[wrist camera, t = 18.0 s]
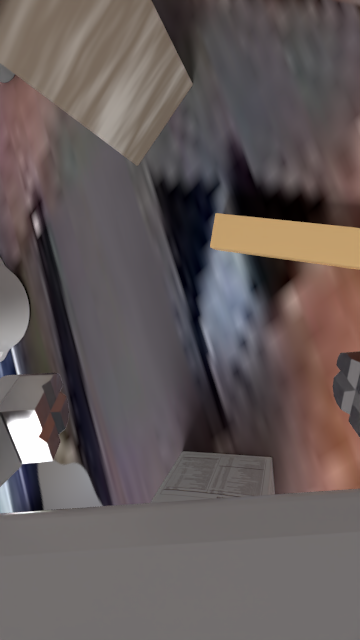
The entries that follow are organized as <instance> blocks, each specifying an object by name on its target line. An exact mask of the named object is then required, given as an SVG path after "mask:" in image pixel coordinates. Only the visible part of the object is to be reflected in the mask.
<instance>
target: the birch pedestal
mask: <svg viewBox="0 0 360 640" xmlns="http://www.w3.org/2000/svg"><path fill="white" fill-rule="evenodd" d="M0 63H1V64H2V65H4V66H5V67H6V68H8V69H9V70H10V71H12V72H13V73H14V74H16V75H17V76H18V77H20V78H21V79H22V80H24V81H25V82H26V83H27V84H29V85H30V86H31V87H33V88H34V89H35V90H37V91H38V92H39V93H41V94H42V95H43V96H45V97H46V98H47V99H49V100H50V101H51V102H53V103H54V104H55V105H57V106H58V107H59V108H61V109H62V110H63V111H65V112H66V113H67V114H69V115H70V116H71V117H73V118H74V119H75V120H77V121H78V122H79V123H81V124H82V125H83V126H85V127H86V128H87V129H89V130H90V131H91V132H93V133H94V134H95V135H97V136H98V137H99V138H101V139H102V140H103V141H105V142H106V143H107V144H109V145H110V146H111V147H113V148H114V149H115V150H117V151H118V152H119V153H121V154H122V155H123V156H125V157H126V158H127V159H129V160H130V161H131V162H133V163H134V164H135V165H137V166H138V165H139V163H140V162H141V160H142V159H143V157H144V156H145V154H146V153H147V152H148V150H149V149H150V147H151V146H152V144H153V143H154V141H155V140H156V138H157V137H158V135H159V134H160V132H161V131H162V129H163V128H164V126H165V125H166V124H167V122H168V121H169V119H170V118H171V116H172V115H173V113H174V112H175V110H176V109H177V107H178V106H179V104H180V103H181V101H182V100H183V98H184V97H185V95H186V94H187V93H188V91H189V90H190V88H191V87H192V85H193V84H192V82H191V80H190V78H189V76H188V74H187V72H186V70H185V68H184V65H183V63H182V61H181V59H180V57H179V55H178V53H177V51H176V49H175V47H174V45H173V43H172V41H171V39H170V37H169V35H168V33H167V31H166V29H165V27H164V25H163V23H162V21H161V19H160V17H159V15H158V13H157V11H156V9H155V7H154V5H153V3H152V1H151V0H0Z"/></svg>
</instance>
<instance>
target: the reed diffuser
mask: <svg viewBox="0 0 360 640" xmlns="http://www.w3.org/2000/svg"><path fill="white" fill-rule="evenodd" d="M14 75H15V74H14V73H13V72H12V71H10V70H9V69H8V68H6V67H5V66H4V65H2V64H1V63H0V82H2V83H6V82H9V81H10V80H11V79H12V78H13V77H14Z"/></svg>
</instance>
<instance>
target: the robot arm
mask: <svg viewBox="0 0 360 640" xmlns="http://www.w3.org/2000/svg"><path fill="white" fill-rule="evenodd" d="M28 322H29V302H28V297H27V294H26V291H25V289H24V287H23V285H22V283H21V282H20V280H19V279H18V278H17V277H16V276H15V275H14V274H13V273H12V272H11V271H10V270H9V269H8V268H7V267H6V266H5V265H4V263H3V261H2V259H1V258H0V362H1V361H3V360H4V359H5V357H6V355H7V353H8V351H9V349H10V348H12V347H13V346H14V345H16V344H17V343H18V342H19V341H20V340H21V338H22V337H23V336H24V334H25V332H26V329H27V326H28ZM337 366H338V368H339V369H340V372H339V373H338V374H337V375H336V376H335V377H334V382H333V392H334V397H335V400H336V403H337V404H338V406H339V407H340V409H341V410H343V411H344V412H346V413H348V414H350V417H349V422H350V424H351V425H352V427H353V428H354V430H355V431H356V433H357V434H358V436H359V437H360V351H358V352H346V353H340V355H339V357H338V360H337ZM62 386H63V383H62V380H61V377H60V375H59V374H58V373H42V374H23V375H8V376H4V377H2V378H1V379H0V487H1V486H2V485H3V484H4V483H5V482H6V481H7V480H8V479H9V478H10V477H11V476H12V475H13V474H14V473H15V472H16V471H17V470H18V469H19V468H20V467H21V464H26V463H36V462H46V461H53V460H54V457H55V454H56V452H57V449H58V447H59V444H60V438H59V434H60V433H61V432H62V431H63V430H64V429H65V428H66V425H67V423H68V417H69V404H68V400H67V396H65V395H64V394H63V393H62V392H60V390H61V388H62ZM0 640H360V489H347V490H332V491H318V492H303V493H288V494H274V495H259V496H245V497H230V498H216V499H202V500H187V501H173V502H159V503H144V504H130V505H115V506H101V507H87V508H72V509H59V510H43V511H29V512H14V513H0Z"/></svg>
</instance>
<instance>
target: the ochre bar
mask: <svg viewBox="0 0 360 640" xmlns="http://www.w3.org/2000/svg"><path fill="white" fill-rule="evenodd" d="M210 247H211V248H213V249H216V250H221V251H228V252H236V253H243V254H250V255H257V256H265V257H272V258H279V259H286V260H294V261H301V262H308V263H315V264H323V265H330V266H337V267H344V268H352V269H359V270H360V228H354V227H345V226H335V225H325V224H316V223H306V222H296V221H287V220H277V219H267V218H258V217H248V216H238V215H229V214H219V213H216V214H215V220H214V226H213V232H212V238H211V244H210Z"/></svg>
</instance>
